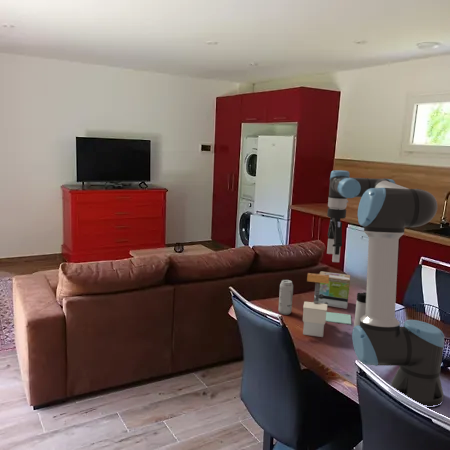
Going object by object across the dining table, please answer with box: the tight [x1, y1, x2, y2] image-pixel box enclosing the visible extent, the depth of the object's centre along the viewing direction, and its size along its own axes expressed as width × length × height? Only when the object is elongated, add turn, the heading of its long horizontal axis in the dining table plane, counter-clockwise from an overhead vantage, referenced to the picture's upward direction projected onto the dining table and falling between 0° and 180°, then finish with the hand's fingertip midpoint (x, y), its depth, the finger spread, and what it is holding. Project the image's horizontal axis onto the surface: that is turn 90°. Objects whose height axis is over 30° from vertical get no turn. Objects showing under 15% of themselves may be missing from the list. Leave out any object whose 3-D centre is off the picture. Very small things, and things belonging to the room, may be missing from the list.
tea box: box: [319, 271, 351, 310], centre depth 220 cm, size 15×10×15 cm, turn 73°
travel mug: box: [353, 291, 366, 328], centre depth 179 cm, size 6×7×20 cm
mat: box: [326, 311, 352, 325], centre depth 202 cm, size 11×11×1 cm
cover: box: [302, 301, 328, 325], centre depth 184 cm, size 7×9×6 cm
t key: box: [306, 272, 329, 303], centre depth 190 cm, size 10×9×16 cm
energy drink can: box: [278, 279, 294, 316], centre depth 206 cm, size 6×6×15 cm
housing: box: [302, 321, 325, 338], centre depth 190 cm, size 16×8×6 cm, turn 166°
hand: (332, 257), depth 190 cm, fingers open, 13 cm apart
